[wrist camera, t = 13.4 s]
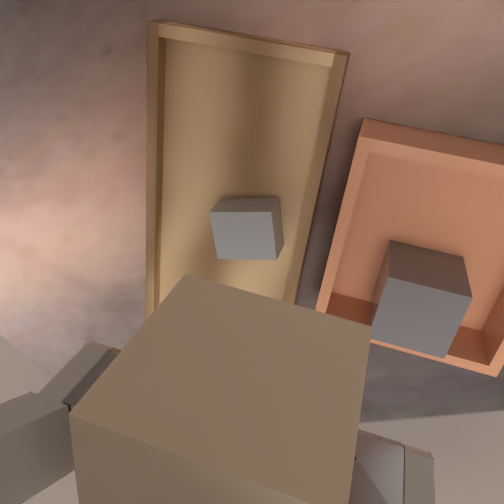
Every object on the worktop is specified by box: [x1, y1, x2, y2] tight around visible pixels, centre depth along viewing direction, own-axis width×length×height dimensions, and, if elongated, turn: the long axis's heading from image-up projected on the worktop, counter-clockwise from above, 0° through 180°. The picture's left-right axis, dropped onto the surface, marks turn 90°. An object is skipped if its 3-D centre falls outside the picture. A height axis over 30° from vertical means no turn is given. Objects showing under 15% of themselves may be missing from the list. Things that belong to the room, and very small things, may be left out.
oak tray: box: [146, 20, 350, 320], centre depth 28 cm, size 10×20×1 cm, turn 172°
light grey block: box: [209, 198, 284, 260], centre depth 27 cm, size 4×3×2 cm
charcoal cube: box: [369, 240, 473, 359], centre depth 25 cm, size 4×4×4 cm
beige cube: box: [68, 274, 372, 504], centre depth 9 cm, size 4×4×4 cm
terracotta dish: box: [315, 118, 504, 377], centre depth 24 cm, size 10×11×4 cm
